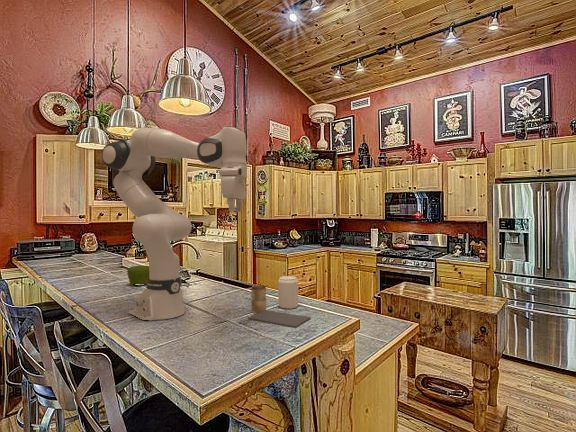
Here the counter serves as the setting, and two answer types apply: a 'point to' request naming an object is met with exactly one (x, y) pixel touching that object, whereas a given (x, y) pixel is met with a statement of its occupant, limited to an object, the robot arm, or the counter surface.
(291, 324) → the rubber mat
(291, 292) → the beverage can
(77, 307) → the counter surface
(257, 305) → the maple block
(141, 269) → the green pot
